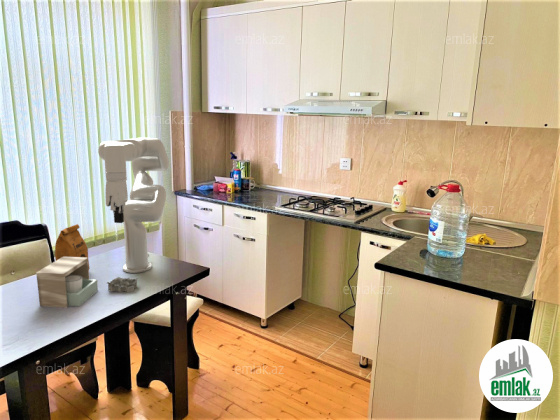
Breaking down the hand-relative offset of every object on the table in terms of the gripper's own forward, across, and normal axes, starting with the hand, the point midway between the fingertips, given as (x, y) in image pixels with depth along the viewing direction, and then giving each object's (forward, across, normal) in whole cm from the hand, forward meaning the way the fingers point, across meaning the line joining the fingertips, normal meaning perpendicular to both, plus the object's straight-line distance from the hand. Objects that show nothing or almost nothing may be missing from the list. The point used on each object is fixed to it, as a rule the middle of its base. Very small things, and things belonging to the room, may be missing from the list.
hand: (119, 222), depth 162 cm
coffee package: (+27, -8, -25) cm, 38 cm away
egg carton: (+28, +2, +1) cm, 28 cm away
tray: (+27, +12, -14) cm, 33 cm away
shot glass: (+27, +12, -14) cm, 32 cm away
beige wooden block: (+27, +12, -17) cm, 34 cm away
